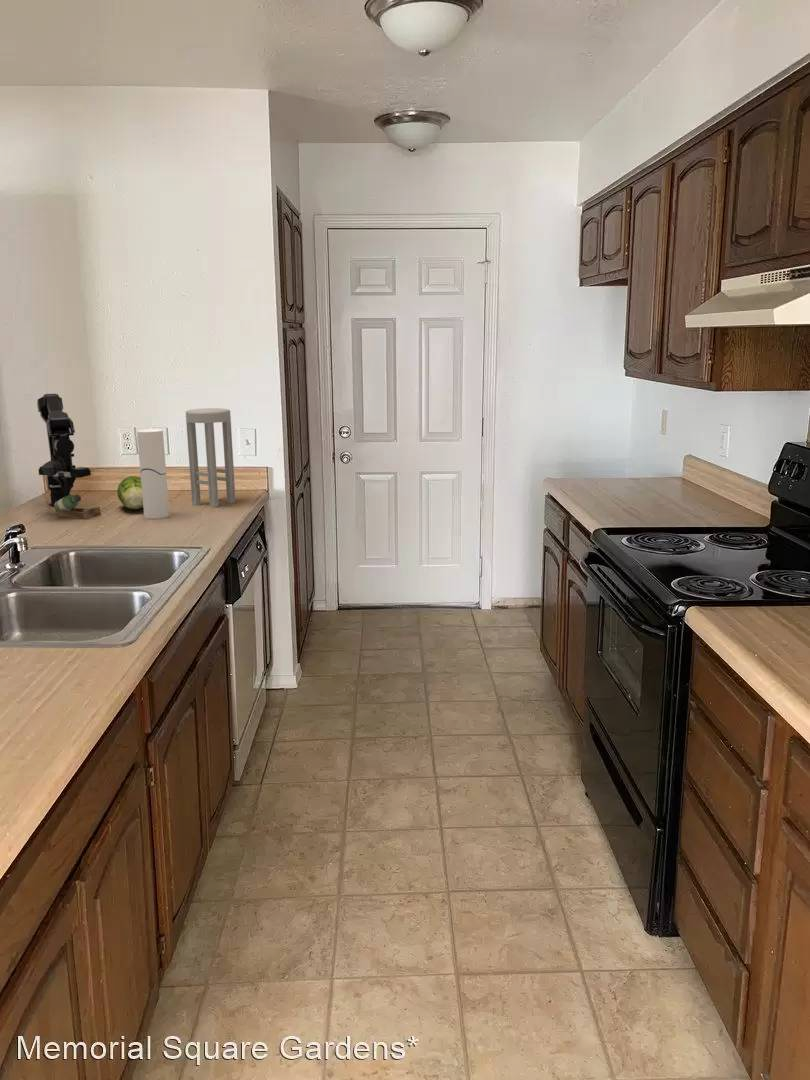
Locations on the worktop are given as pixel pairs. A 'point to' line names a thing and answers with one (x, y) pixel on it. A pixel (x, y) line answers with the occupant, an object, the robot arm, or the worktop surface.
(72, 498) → the bottle
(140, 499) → the lettuce
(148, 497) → the container
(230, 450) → the stool
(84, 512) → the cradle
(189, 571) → the worktop surface
